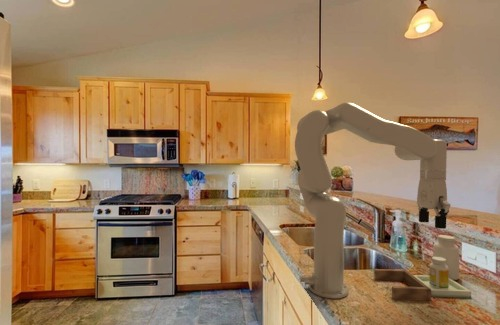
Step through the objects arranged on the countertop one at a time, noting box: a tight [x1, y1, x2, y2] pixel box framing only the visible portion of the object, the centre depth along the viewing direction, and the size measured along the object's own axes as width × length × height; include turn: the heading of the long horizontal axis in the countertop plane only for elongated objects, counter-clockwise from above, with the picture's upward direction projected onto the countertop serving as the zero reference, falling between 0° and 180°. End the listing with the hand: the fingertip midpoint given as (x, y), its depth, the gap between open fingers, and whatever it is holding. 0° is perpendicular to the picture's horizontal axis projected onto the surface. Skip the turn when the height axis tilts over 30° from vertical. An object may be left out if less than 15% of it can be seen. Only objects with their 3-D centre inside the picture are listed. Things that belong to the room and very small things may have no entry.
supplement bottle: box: [428, 256, 449, 289], centre depth 92 cm, size 5×5×10 cm
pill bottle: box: [432, 234, 460, 281], centre depth 103 cm, size 8×8×15 cm
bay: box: [373, 268, 432, 301], centre depth 92 cm, size 11×15×4 cm
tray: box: [412, 274, 472, 299], centre depth 92 cm, size 12×12×2 cm
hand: (431, 225), depth 94 cm, fingers open, 9 cm apart
